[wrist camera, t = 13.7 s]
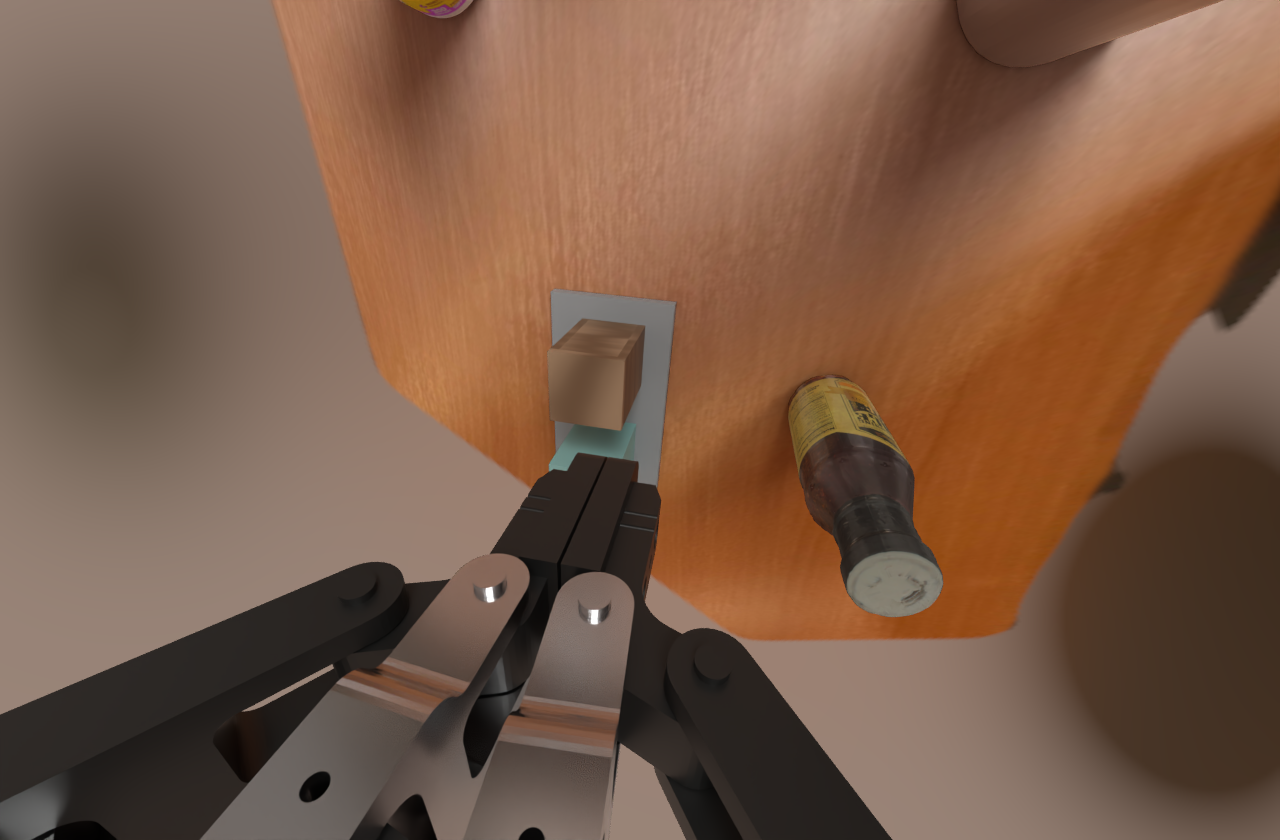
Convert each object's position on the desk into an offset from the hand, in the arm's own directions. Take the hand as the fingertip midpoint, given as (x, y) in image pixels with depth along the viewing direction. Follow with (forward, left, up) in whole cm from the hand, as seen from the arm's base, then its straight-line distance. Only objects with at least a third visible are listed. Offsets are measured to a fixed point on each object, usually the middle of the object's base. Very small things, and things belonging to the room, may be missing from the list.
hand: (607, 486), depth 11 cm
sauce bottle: (-12, +9, -27) cm, 31 cm away
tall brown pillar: (+6, +6, -26) cm, 27 cm away
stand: (+6, +11, -27) cm, 30 cm away
